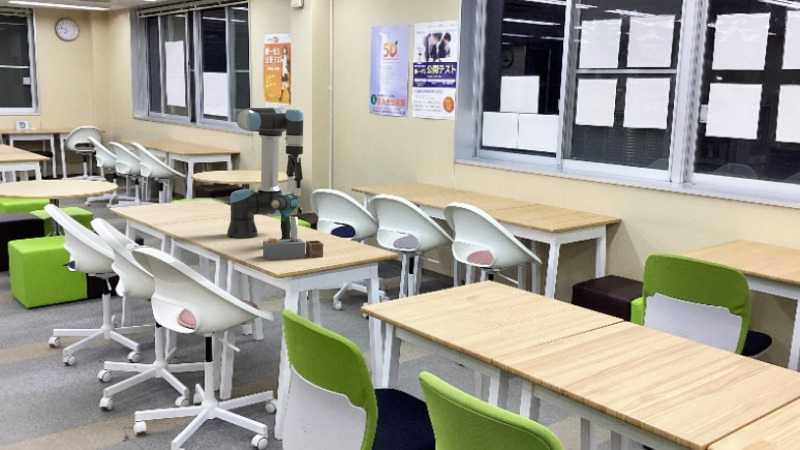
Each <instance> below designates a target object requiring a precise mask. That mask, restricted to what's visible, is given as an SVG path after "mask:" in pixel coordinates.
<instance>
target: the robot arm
mask: <svg viewBox="0 0 800 450" xmlns="http://www.w3.org/2000/svg"><path fill="white" fill-rule="evenodd" d="M235 120H236V124H237V126H238V127H239V128H240V129H242V130H244V131H248V132H256V133H257V132H258V136H259V137H260V139H261V156H260V158H261V160H260V161H261V162H260V163H261V164H260V165H261V168H260V170H261V171H260V186H258V187H257V191H255V190H254V189H253V188H248V189H247V188H244V189H243V188H242V189H239V190H238V189H237V190H235V191H233V192H231V193H230V201H229V203H230V221H229V225H228V227H227V231H226V232H227V234H226V235H227V237H229V238H232V239H249V238H250V239H251V238H256V237H258V234H259V233H258V229H257V228H258V227H257V226H256V225H257V224H256V221H255V216H258V215H259V216H260V215H270V216H273V215H279V214H281V213H280V211H279V210H275V209H273V208H272V207H271V204H270V203H271V201H272V200H273V199H274V198H277V197H278V196H280V195H285V192H283V191H282V187H280V186H279V160H280V156H279V155H280V154H279V153H280V138H282V137H283V133H285V137H284V140H285V144H286V145H285V154H286V155H287V163H286V173H285V174H286V177H287V192H294V195H295V196H297V197H298V196H302V180H303V171H302V170H303V169H302V168H303V167H302V157H301V156H299V155H303V154H304V146H303V145H304V111H303V109H290V108H289V109H286V110H285V112H284V111H283V110H282V109H281V108H276V107H249V108H244V109H242V110H240V111H239V112H238V113H237V115H236V119H235Z"/></svg>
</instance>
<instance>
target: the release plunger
mask: <svg viewBox="0 0 800 450" xmlns="http://www.w3.org/2000/svg"><path fill="white" fill-rule="evenodd" d="M268 240H269V243H277V240H278V239H277V238H276V237H271V238H268Z"/></svg>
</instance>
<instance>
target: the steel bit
mask: <svg viewBox="0 0 800 450" xmlns="http://www.w3.org/2000/svg"><path fill="white" fill-rule="evenodd" d="M298 218H299V217H298V216H290V223H291V231H290V237H291V242H297V239H298V220H299V219H298Z"/></svg>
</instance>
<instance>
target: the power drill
mask: <svg viewBox="0 0 800 450" xmlns="http://www.w3.org/2000/svg"><path fill="white" fill-rule="evenodd" d="M270 204H271V207H272V208H273V209H275V210H279V211H280V213H279V214H280V232H281V238H280V239H278V240H286V239H291V213H292V212H293V211H294V210H295V209H297V208H298V206H299V197H298V196H295V193H288V194H284V195H280V196H278V197H277V198H274V199H273V200H272V201H271V203H270Z"/></svg>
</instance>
